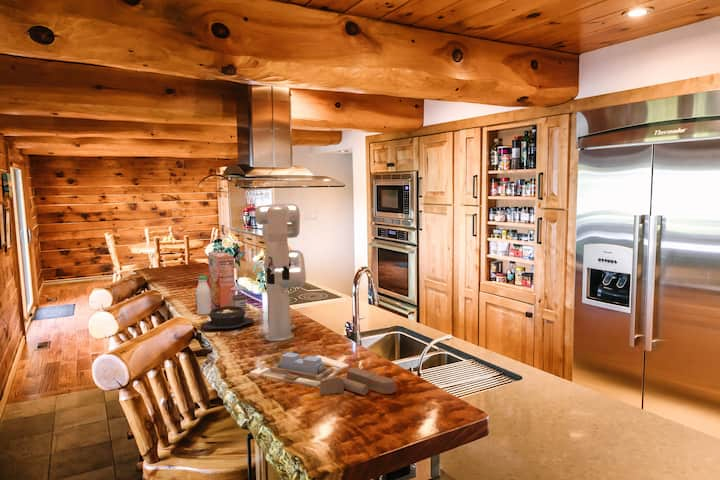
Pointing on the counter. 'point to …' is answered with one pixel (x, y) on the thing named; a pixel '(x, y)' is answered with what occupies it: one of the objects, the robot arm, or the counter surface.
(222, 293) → the pasta box
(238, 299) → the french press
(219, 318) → the casserole
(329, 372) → the jig
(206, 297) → the milk bottle
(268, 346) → the counter surface
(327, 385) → the wooden block set
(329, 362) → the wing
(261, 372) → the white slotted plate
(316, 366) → the notched grey stepped bar
